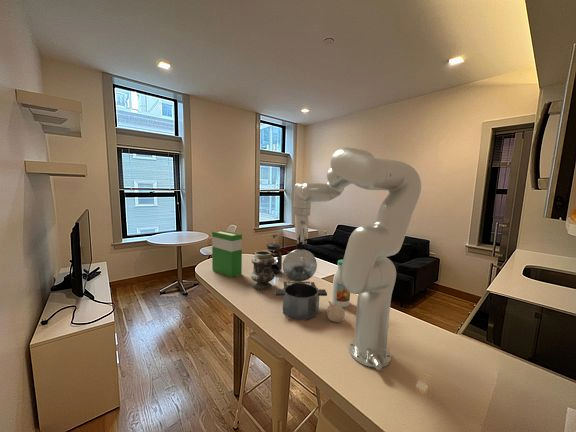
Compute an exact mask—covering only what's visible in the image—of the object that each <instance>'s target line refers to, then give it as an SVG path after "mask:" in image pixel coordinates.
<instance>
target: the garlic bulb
mask: <svg viewBox="0 0 576 432" xmlns="http://www.w3.org/2000/svg"><path fill="white" fill-rule="evenodd" d="M328 303H329V306H327V309H326V310H327V311H326V317H327V319H328V320H329V321H331V322H334V323H339V322H342V321H344V319H345V315H346V314H345V313H346V312H345V310H344V307H340V306H338V305H336V304H333V303H332V301H329V300H328Z"/></svg>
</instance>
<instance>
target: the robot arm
mask: <svg viewBox="0 0 576 432" xmlns="http://www.w3.org/2000/svg"><path fill="white" fill-rule="evenodd" d="M326 178H327V179H326V180H327V182H326V183H322V182H321V183H320V182H311V183H310V182H305V183H303V182H298V183H295V184H294V187H293V208H292V209H293V210H292V215H293V216H295V220H294V221H295V222H294V223H295V225H294V231H295V237H296V244H295V247H296V249H295V250H297V249H304V250H305V239H307V240H308V238H309V217H310V216H311V206H312V205H311V204H312V203H315V202H318V203H319V202H322V203H323V202H329V201H332V200H334V199H336V198H337V197H339V196H341V195H342V194H343V193H344V190H345V188H346V187H348V186H350V185H351V184H352V185H355V186H356V187H358V188H360V189H364V190H368V191H388V195H387V196H386V197H385V198H384V200H383V201H382V203H381V205H380V207H379V209H378V212H377V216H376V219H375V221H374V222H373V223H372V224H364V225H361V226H359V227H356V228H355V229H354V230H353V231H352V232H351V234H350V236H349V238H348V242H347V244H346V248H345V253H344V255H343V259H342V260H343V263H342V267H341V273H340V276H341V282H342V285H343V286H344V288H345V289H346V290H347V291H348V292H350V294H354V295H358V296H357V303H356V317H355V330H354V331H355V332H354V339H353V340H352V341H351V342H350V343H349V346H348V351H349V353H350V355H351V357H352V358H353V359H354V360H355V361H356V362H358V363H360V364H362V365H363V366H365V367H368V368H374V369H375V370H377V371H381V370H382V369H383V368H384V367H387V366H389V365H390V363H391V362H392V354H391V351H390V350H389V348H388V346H387V345H388V332H389V323H390V311H391V301H392V295H393V291H394V287H395V284H396V279H397V269H396V266H395V264H394V263H393V261H392V260H391V259H390V258H388V257H391V256H395V255H396V254H398V253H399V252H400V250H401V248H402V245H403V244H404V241H405V237H406V234H407V232H408V228H409V226H410V223H411V219H412V216H413V213H414V211H415V208H416V206H417V204H418V202H419V198H420V195H421V191H422V181H421V178H420V175H419V173H418V172H417V170H416V169H415V168H414V167H413V166H411V164H409V163H407V162H403V161H401V160H396V159H388V158H387V159H385V158H379V157H375V156H374V155H373V154H372V153H371V152H370V151H368V150H366V149H362V148H361V149H360V148H353V147H348V146H347V147H340V148H338V149H337V150H336V151H335V152H334V153H333V154H332V156H331V158H330V168H329V169H328V171H327V174H326Z"/></svg>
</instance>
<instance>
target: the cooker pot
mask: <svg viewBox="0 0 576 432" xmlns="http://www.w3.org/2000/svg"><path fill="white" fill-rule="evenodd" d="M275 296H277V297H282V313H283V314H284V315H285V316H286V317H287V318H289V319H292V320H295V321H309V320H312V319H315V318H316V317H317V315H319V308H320V297H327V296H328V292H327V290H326V289H325V288H323V289H321V288H320V289H319V288H318V287H317V286H316V283H315V282H314V281H310V283H288V281H283V288H282V289H278V288H276V289H275Z"/></svg>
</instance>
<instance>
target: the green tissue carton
mask: <svg viewBox="0 0 576 432" xmlns="http://www.w3.org/2000/svg"><path fill="white" fill-rule="evenodd" d="M211 237H212V238H211V242H212V243H211V248H212V249H211V250H212V252H211V253H212V254H211V255H212V256H211V258H212V259H211V260H212V261H211V262H212V266H211V267H212V270H213V271H212V272H215V271H216V272H215V273H217V272H219V273H218V274H220V273H221V274H220V275H223V274H224V275H223V276H225V275H227V276H226V277H228V276H229V277H228V278H231V277H233V278H235V277H234V276H236V277H237V275H238V276H241V275H242V271H243V268H242V266H243V265H242V262H243V261H242V260H243V258H242V257H243V254H242V252H243V244H242V243H243V234H242V233H239V232H233V231H229V230H225V229H222V230H220V231H218V232H217V231H212V232H211ZM240 274H241V275H240Z"/></svg>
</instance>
